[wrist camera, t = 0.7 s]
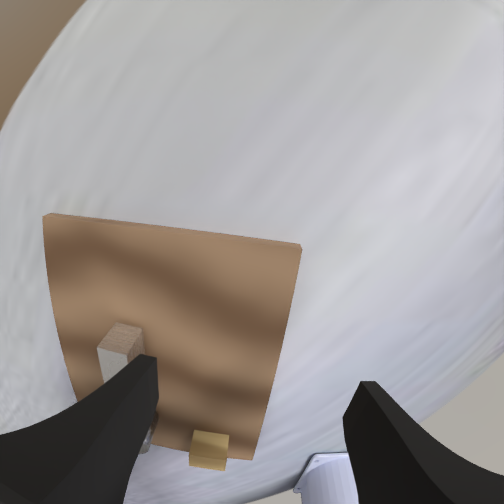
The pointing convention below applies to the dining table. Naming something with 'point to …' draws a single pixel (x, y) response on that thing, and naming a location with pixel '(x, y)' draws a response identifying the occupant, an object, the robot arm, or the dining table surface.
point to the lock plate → (177, 321)
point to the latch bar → (123, 360)
